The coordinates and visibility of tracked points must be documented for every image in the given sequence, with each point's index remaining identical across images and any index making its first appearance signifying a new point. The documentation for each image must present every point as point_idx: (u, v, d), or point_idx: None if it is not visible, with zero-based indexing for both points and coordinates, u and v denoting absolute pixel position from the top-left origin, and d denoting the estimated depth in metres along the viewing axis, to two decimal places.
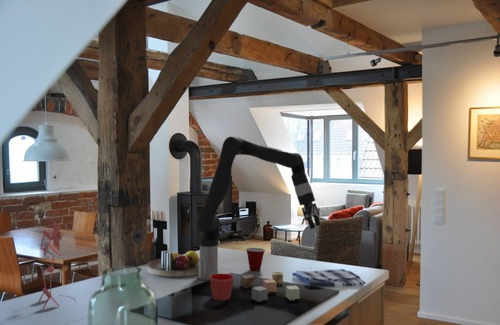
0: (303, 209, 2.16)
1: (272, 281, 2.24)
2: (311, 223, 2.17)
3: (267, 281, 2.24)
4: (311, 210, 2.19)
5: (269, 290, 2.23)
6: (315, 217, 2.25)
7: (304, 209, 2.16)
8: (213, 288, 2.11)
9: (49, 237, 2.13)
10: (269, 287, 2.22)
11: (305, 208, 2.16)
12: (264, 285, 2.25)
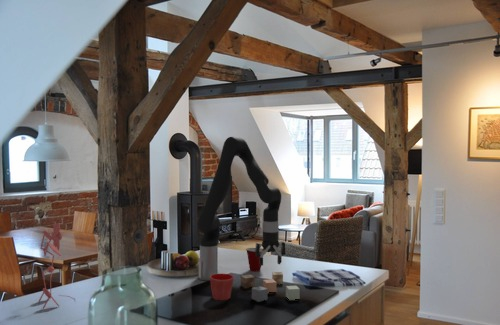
0: (256, 245, 2.23)
1: (272, 281, 2.24)
2: (259, 260, 2.23)
3: (267, 281, 2.24)
4: (265, 249, 2.22)
5: (269, 290, 2.23)
6: (278, 255, 2.26)
7: (256, 245, 2.23)
8: (213, 288, 2.11)
9: (49, 237, 2.13)
10: (269, 287, 2.22)
11: (256, 245, 2.22)
12: (264, 285, 2.25)
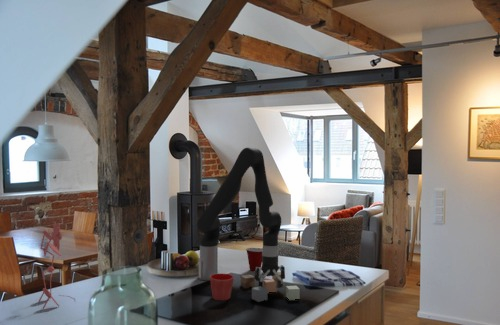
0: (255, 269, 2.23)
1: (272, 281, 2.24)
2: (259, 284, 2.23)
3: (267, 281, 2.24)
4: (265, 273, 2.23)
5: (269, 290, 2.23)
6: (277, 279, 2.26)
7: (256, 269, 2.23)
8: (213, 288, 2.11)
9: (49, 237, 2.13)
10: (269, 287, 2.22)
11: (256, 269, 2.22)
12: (264, 285, 2.25)
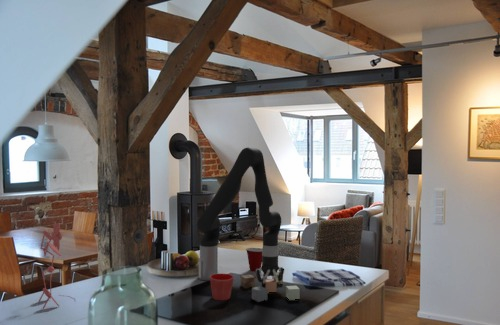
0: (256, 271, 2.24)
1: (272, 281, 2.24)
2: (262, 285, 2.24)
3: (267, 281, 2.24)
4: (265, 273, 2.23)
5: (269, 290, 2.23)
6: None
7: (256, 271, 2.23)
8: (213, 288, 2.11)
9: (49, 237, 2.13)
10: (269, 287, 2.22)
11: (256, 271, 2.23)
12: None
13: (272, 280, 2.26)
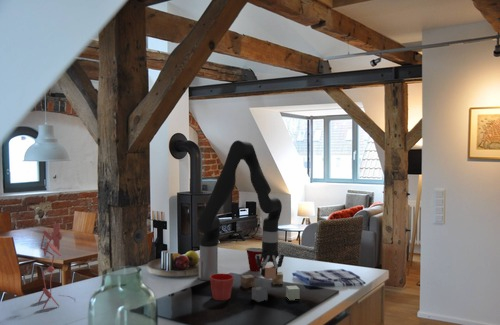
0: None
1: (272, 267, 2.24)
2: (261, 271, 2.23)
3: (267, 267, 2.24)
4: (265, 259, 2.22)
5: (268, 276, 2.22)
6: None
7: (256, 257, 2.23)
8: (213, 288, 2.11)
9: (49, 237, 2.13)
10: (268, 273, 2.22)
11: (256, 257, 2.22)
12: None
13: (272, 266, 2.25)
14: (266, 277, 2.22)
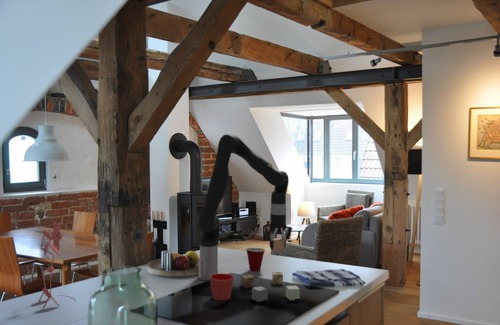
0: (264, 229, 2.27)
1: (280, 239, 2.27)
2: (270, 244, 2.27)
3: (275, 239, 2.27)
4: (273, 232, 2.26)
5: (277, 248, 2.26)
6: None
7: (264, 230, 2.26)
8: (213, 288, 2.11)
9: (49, 237, 2.13)
10: (276, 245, 2.26)
11: (264, 229, 2.26)
12: None
13: (280, 239, 2.29)
14: (274, 249, 2.25)
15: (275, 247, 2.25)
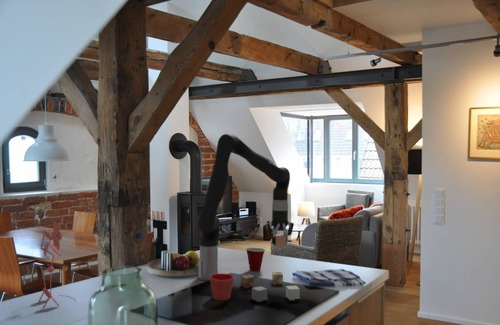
0: (266, 225, 2.28)
1: (282, 235, 2.29)
2: (272, 239, 2.28)
3: (277, 235, 2.29)
4: (275, 227, 2.27)
5: (279, 243, 2.27)
6: None
7: (266, 226, 2.28)
8: (213, 288, 2.11)
9: (49, 237, 2.13)
10: (279, 241, 2.27)
11: (267, 225, 2.27)
12: None
13: (282, 235, 2.30)
14: (277, 245, 2.27)
15: (277, 243, 2.27)
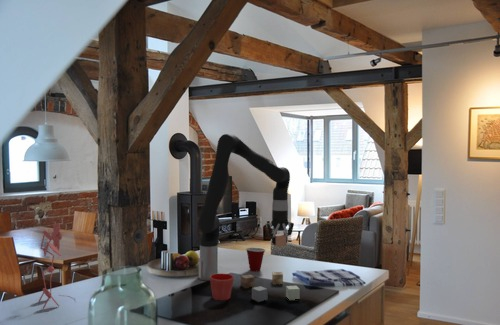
0: (266, 225, 2.28)
1: (282, 235, 2.29)
2: (272, 239, 2.28)
3: (277, 235, 2.29)
4: (275, 227, 2.27)
5: (279, 243, 2.27)
6: None
7: (266, 226, 2.28)
8: (213, 288, 2.11)
9: (49, 237, 2.13)
10: (279, 241, 2.27)
11: (267, 225, 2.27)
12: None
13: (282, 235, 2.30)
14: (277, 245, 2.27)
15: (277, 243, 2.27)
